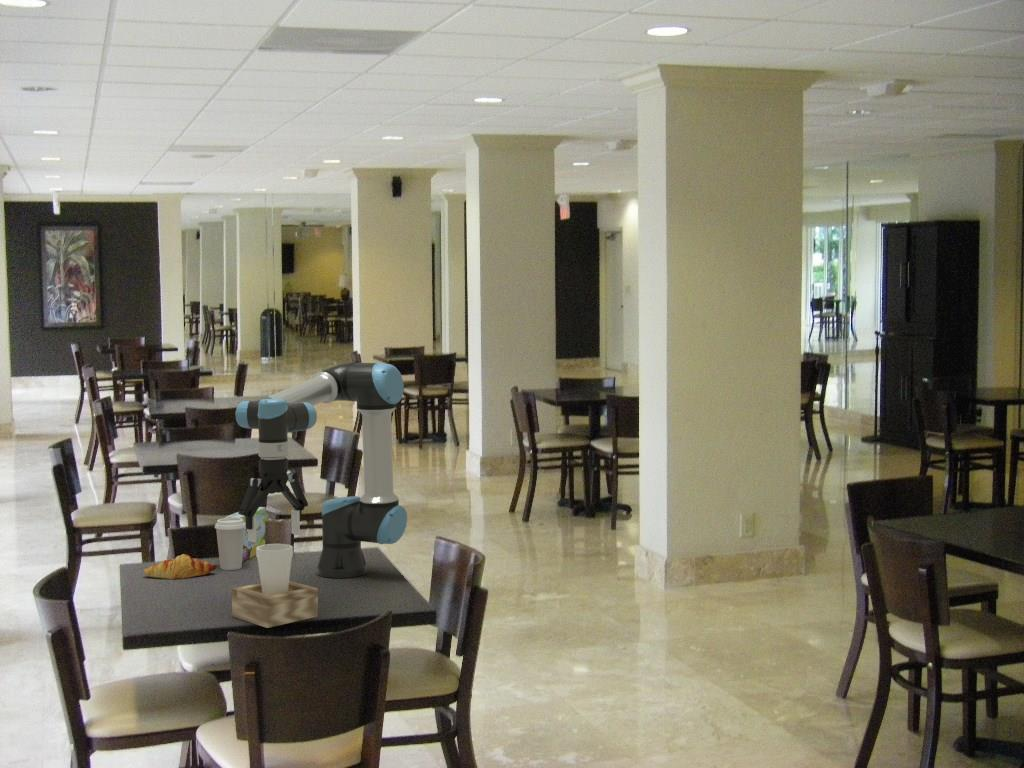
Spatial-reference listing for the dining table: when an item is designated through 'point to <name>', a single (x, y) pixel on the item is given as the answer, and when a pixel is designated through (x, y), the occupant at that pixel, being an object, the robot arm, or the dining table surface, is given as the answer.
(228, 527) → the coffee cup
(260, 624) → the wooden box
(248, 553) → the snack box
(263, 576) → the foam cup
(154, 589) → the dining table surface
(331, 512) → the robot arm
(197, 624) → the dining table surface
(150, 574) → the croissant
